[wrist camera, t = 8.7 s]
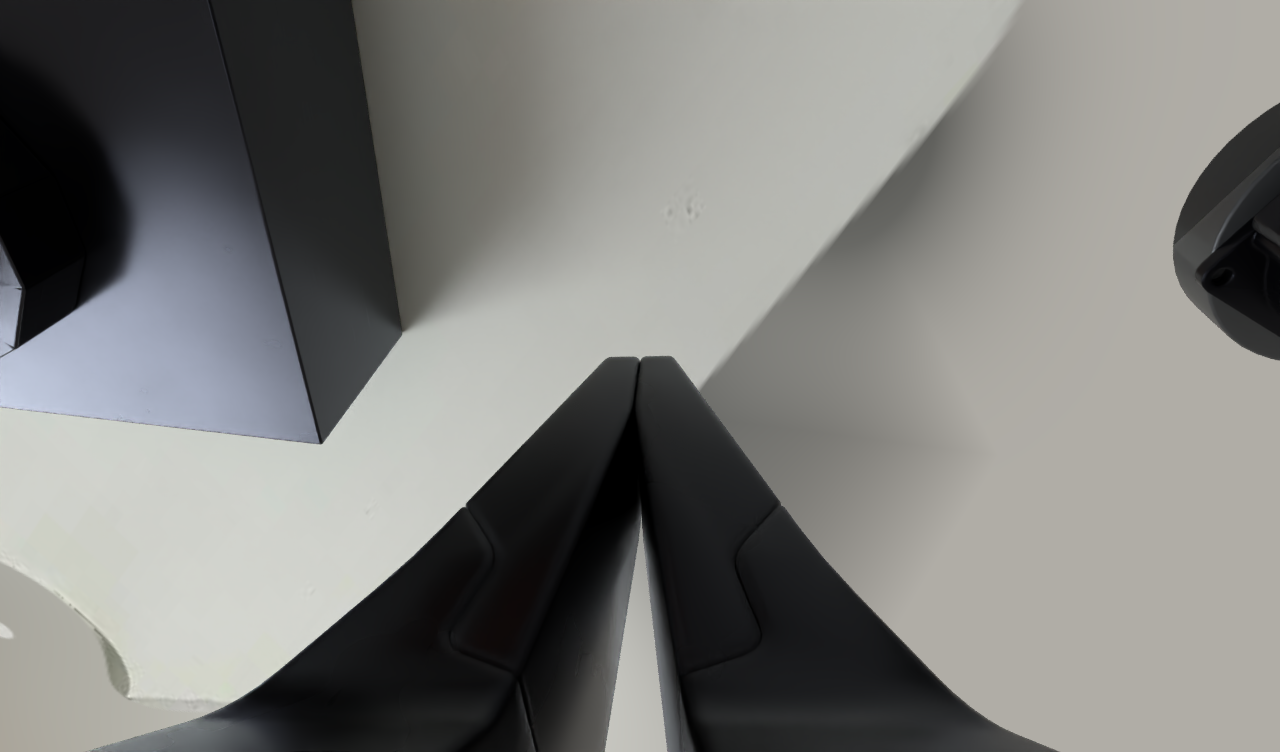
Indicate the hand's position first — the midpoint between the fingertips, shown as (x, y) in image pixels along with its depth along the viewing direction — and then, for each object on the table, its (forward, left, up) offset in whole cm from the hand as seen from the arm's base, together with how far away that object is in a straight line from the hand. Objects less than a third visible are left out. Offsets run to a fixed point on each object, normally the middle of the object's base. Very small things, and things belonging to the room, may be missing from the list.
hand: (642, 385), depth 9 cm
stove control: (+12, +7, -12) cm, 18 cm away
